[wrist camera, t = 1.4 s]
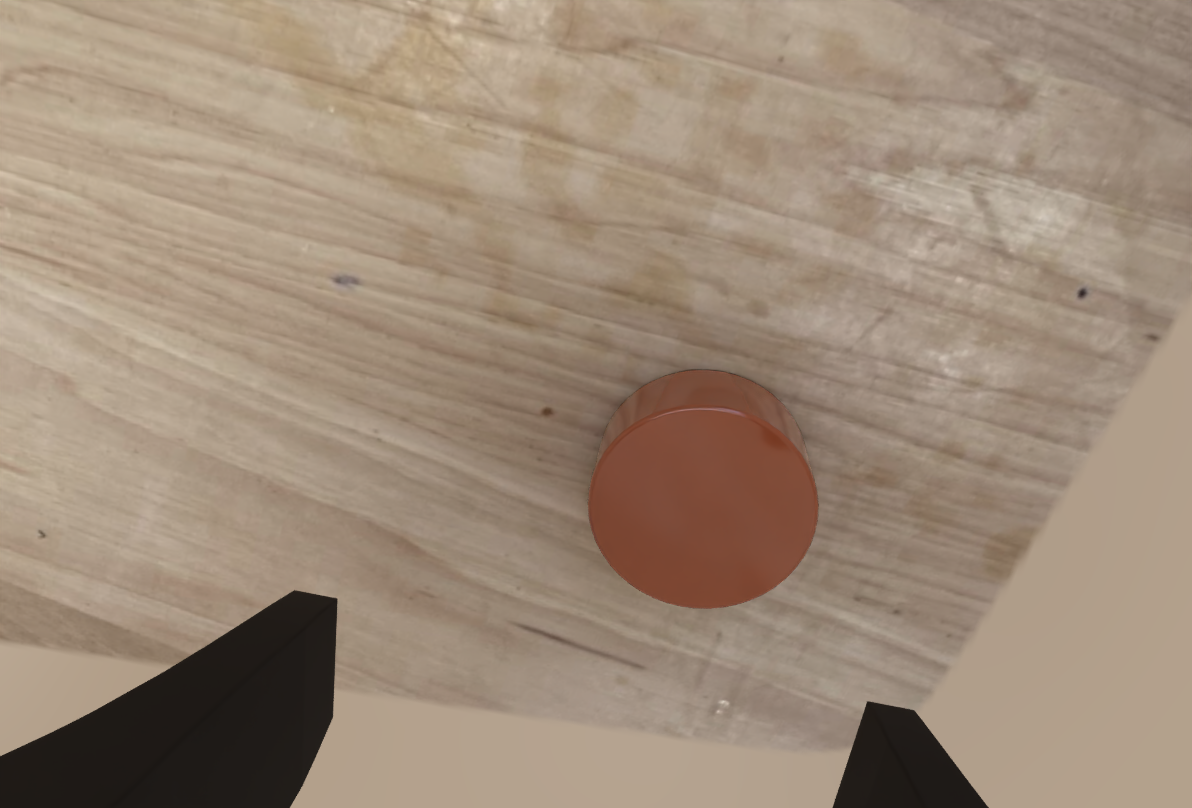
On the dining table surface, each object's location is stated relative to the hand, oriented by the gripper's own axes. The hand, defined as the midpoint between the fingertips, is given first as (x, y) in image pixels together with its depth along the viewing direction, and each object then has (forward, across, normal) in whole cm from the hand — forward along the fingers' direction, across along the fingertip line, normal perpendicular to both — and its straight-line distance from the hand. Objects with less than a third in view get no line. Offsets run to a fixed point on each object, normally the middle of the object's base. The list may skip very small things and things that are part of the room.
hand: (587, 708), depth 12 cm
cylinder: (+8, -2, 0) cm, 9 cm away
